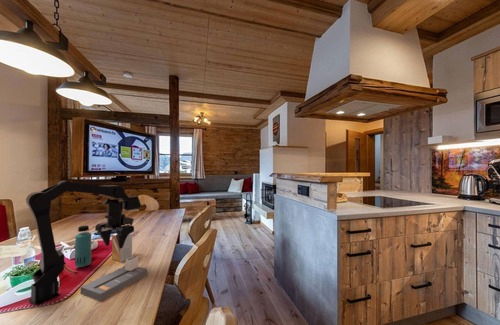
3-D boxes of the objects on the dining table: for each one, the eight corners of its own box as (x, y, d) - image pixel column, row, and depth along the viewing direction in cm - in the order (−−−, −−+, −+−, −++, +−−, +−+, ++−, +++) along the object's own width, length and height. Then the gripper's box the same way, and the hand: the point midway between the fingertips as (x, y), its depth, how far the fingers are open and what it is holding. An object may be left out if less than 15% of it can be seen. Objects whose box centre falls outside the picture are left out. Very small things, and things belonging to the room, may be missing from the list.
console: (100, 301, 75) (100, 293, 75) (80, 293, 80) (80, 286, 80) (147, 274, 93) (147, 268, 93) (129, 269, 98) (129, 264, 98)
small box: (111, 259, 110) (111, 234, 110) (123, 254, 115) (123, 231, 115) (120, 262, 106) (120, 236, 106) (132, 257, 111) (132, 233, 111)
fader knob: (130, 273, 90) (130, 260, 91) (125, 272, 92) (125, 259, 92) (138, 269, 94) (138, 256, 94) (133, 268, 95) (133, 255, 96)
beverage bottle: (89, 263, 105) (89, 223, 106) (93, 266, 101) (93, 225, 102) (72, 267, 100) (73, 226, 101) (76, 272, 96) (76, 228, 97)
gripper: (144, 211, 100) (143, 243, 99) (118, 208, 107) (117, 238, 106) (122, 215, 90) (121, 252, 89) (94, 212, 97) (94, 246, 96)
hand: (114, 246), depth 95 cm, fingers open, 9 cm apart
